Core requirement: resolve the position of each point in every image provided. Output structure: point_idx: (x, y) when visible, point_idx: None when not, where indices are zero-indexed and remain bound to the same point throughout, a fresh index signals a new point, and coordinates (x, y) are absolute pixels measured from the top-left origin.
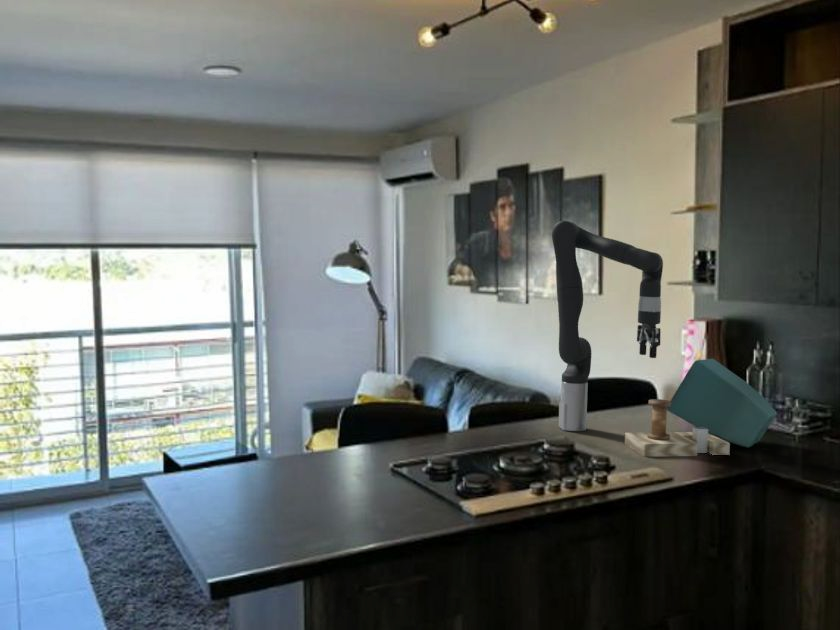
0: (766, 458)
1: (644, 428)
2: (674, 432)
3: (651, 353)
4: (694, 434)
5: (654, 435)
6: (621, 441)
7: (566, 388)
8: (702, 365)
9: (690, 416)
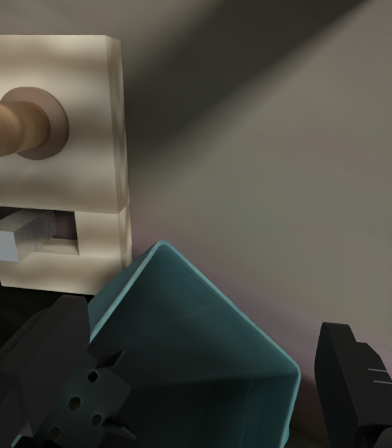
0: (9, 327)
1: (339, 214)
2: (113, 211)
3: (41, 327)
4: (13, 223)
5: (8, 101)
6: (162, 47)
7: None
8: None
9: (110, 284)
